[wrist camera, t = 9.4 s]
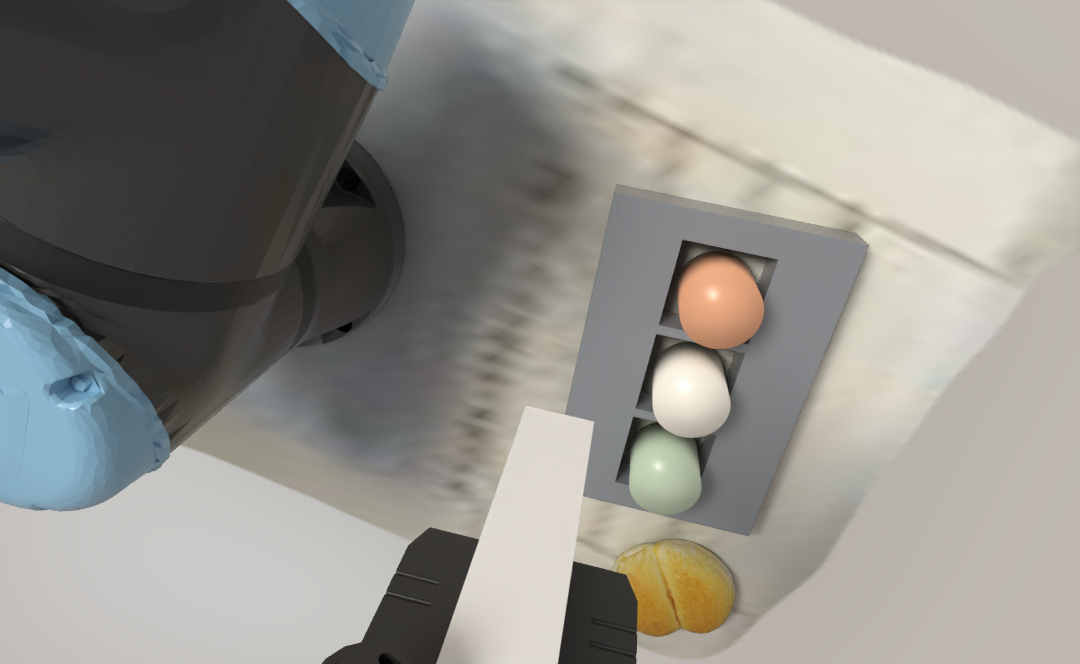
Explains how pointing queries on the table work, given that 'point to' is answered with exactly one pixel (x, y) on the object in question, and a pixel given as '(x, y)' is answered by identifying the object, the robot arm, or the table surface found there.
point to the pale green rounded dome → (664, 471)
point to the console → (637, 316)
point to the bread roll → (677, 587)
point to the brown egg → (719, 300)
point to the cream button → (689, 390)
